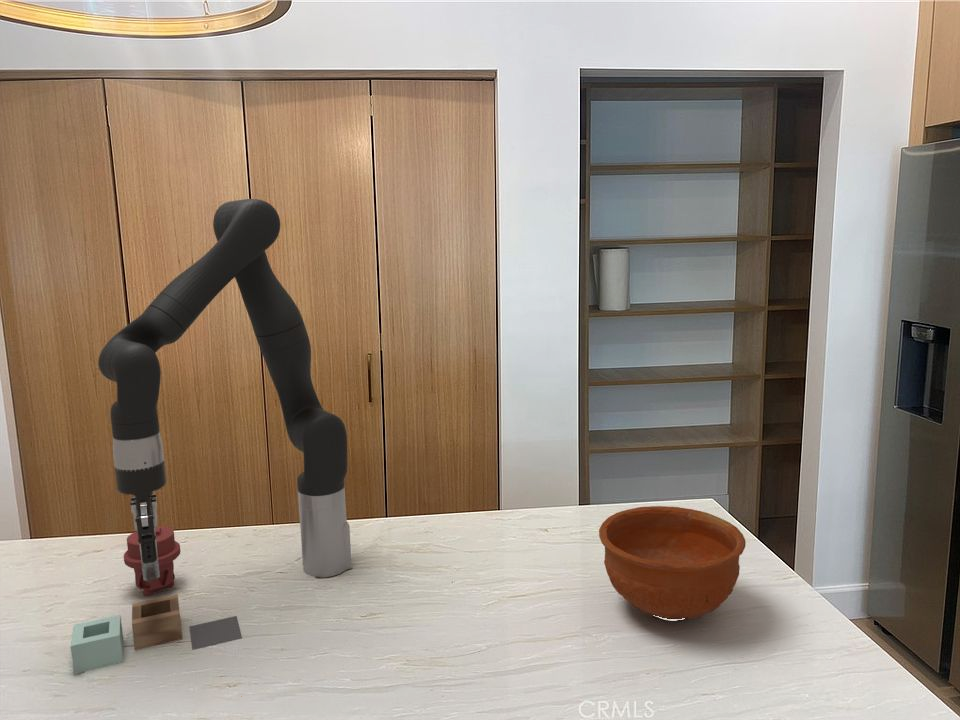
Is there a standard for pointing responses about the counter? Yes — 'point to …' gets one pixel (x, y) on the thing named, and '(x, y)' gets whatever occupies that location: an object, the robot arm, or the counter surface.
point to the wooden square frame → (156, 621)
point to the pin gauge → (150, 567)
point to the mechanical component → (166, 556)
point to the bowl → (671, 559)
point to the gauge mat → (215, 632)
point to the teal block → (97, 643)
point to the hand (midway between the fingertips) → (149, 557)
